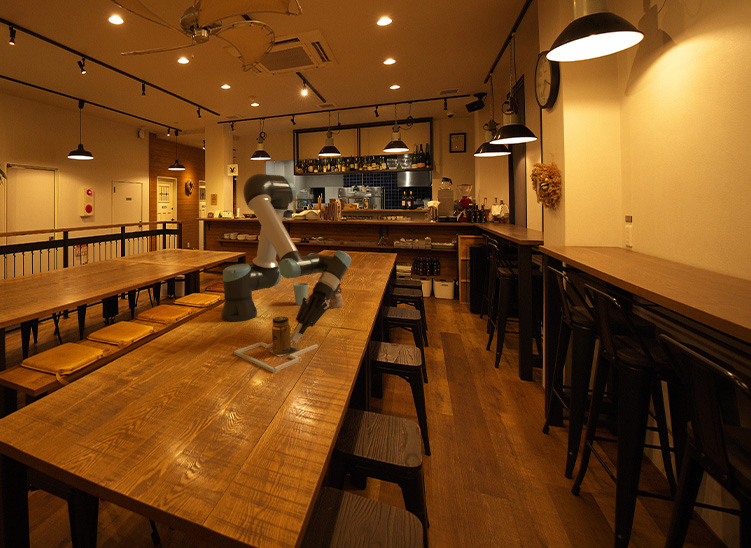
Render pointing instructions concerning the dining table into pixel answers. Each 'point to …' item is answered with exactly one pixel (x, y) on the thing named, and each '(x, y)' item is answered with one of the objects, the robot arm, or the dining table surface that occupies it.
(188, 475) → the dining table surface
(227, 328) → the dining table surface
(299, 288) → the cup
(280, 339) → the condiment
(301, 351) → the t outline
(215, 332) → the dining table surface
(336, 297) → the figurine
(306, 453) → the dining table surface
